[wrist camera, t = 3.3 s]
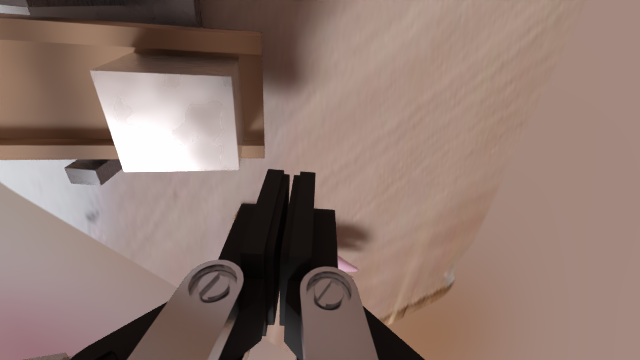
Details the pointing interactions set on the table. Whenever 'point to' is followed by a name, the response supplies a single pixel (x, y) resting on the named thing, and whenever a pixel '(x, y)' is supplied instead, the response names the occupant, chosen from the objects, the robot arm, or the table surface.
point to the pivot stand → (119, 6)
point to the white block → (173, 111)
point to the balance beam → (78, 87)
